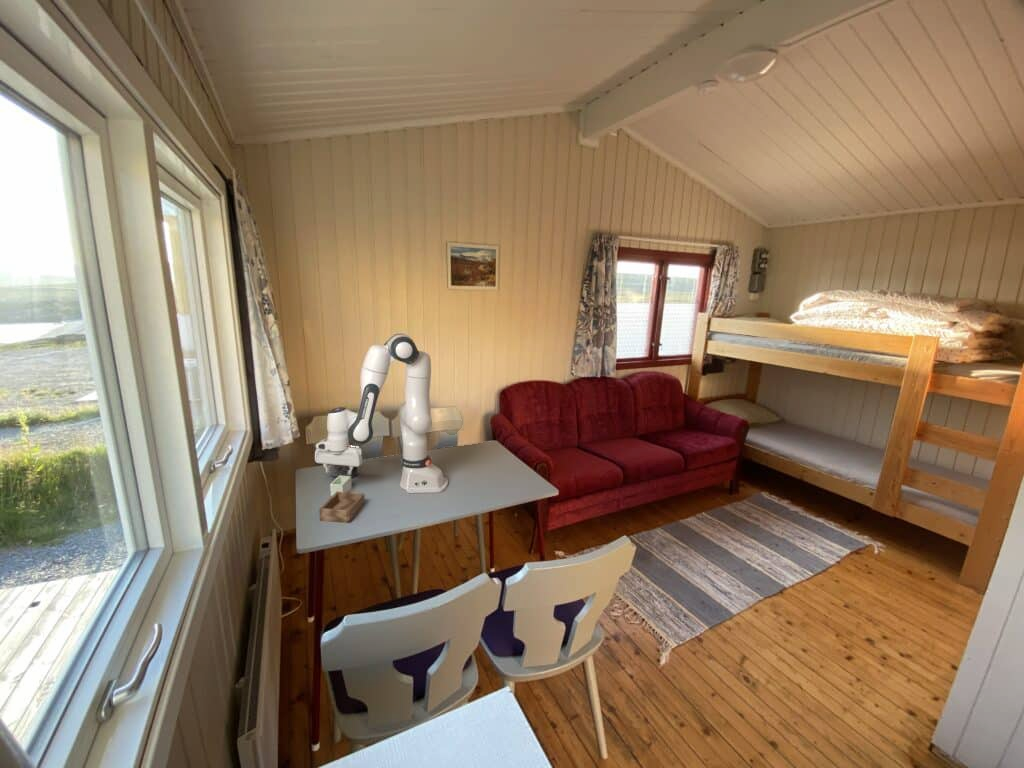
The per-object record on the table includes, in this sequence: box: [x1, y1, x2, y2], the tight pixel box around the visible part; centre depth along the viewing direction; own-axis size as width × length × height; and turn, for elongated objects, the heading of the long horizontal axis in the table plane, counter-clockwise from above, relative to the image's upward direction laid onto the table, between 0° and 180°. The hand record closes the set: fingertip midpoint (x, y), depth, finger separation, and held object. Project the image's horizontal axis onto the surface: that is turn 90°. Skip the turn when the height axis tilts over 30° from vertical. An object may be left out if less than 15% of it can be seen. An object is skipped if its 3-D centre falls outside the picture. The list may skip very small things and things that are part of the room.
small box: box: [330, 464, 358, 480], centre depth 208 cm, size 11×6×10 cm, turn 84°
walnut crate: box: [318, 491, 365, 524], centre depth 176 cm, size 12×15×5 cm
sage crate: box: [329, 475, 353, 498], centre depth 192 cm, size 6×9×6 cm, turn 177°
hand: (339, 473), depth 190 cm, fingers open, 8 cm apart
